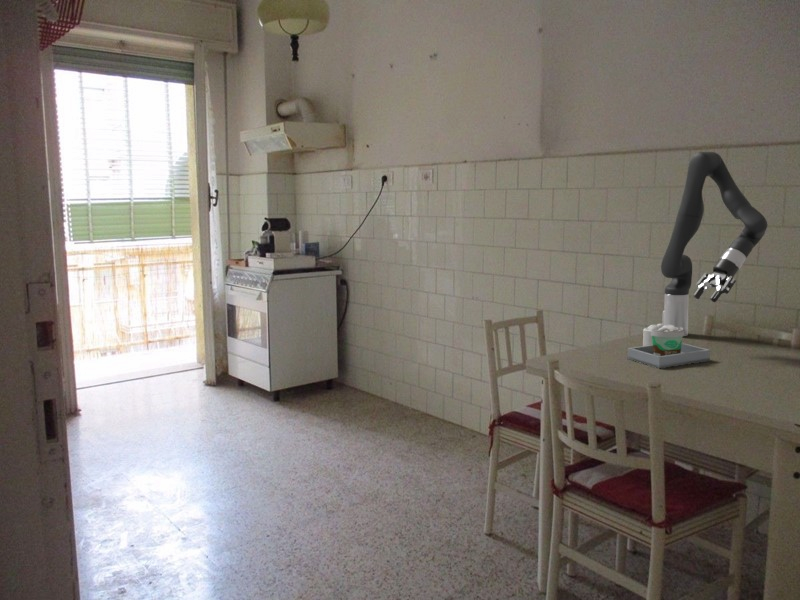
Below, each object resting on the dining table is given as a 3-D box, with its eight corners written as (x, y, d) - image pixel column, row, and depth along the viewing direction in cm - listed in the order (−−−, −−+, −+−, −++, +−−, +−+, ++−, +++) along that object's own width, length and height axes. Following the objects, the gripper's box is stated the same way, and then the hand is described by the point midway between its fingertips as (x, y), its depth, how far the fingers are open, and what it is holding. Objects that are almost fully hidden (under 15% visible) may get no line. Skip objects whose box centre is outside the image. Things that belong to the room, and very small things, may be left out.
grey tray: (627, 359, 240) (627, 348, 240) (676, 352, 248) (676, 341, 247) (659, 368, 226) (659, 357, 225) (709, 361, 233) (710, 349, 233)
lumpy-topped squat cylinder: (681, 350, 250) (682, 328, 249) (644, 350, 253) (645, 327, 252) (676, 344, 260) (676, 322, 259) (641, 344, 263) (641, 322, 262)
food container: (660, 361, 232) (660, 332, 230) (649, 357, 238) (650, 329, 236) (691, 358, 234) (692, 330, 233) (680, 354, 240) (681, 326, 239)
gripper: (709, 255, 248) (684, 290, 247) (738, 258, 235) (711, 295, 234) (721, 268, 251) (696, 302, 250) (750, 271, 237) (724, 308, 236)
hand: (703, 299), depth 242 cm, fingers open, 8 cm apart
